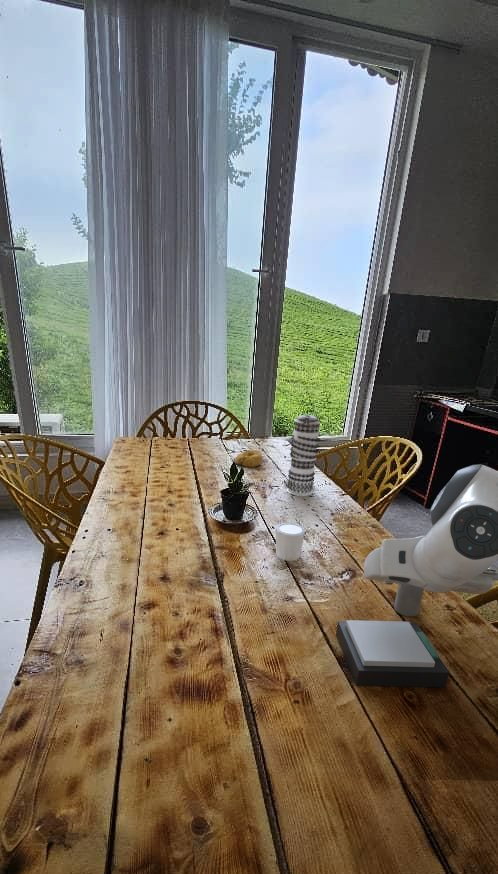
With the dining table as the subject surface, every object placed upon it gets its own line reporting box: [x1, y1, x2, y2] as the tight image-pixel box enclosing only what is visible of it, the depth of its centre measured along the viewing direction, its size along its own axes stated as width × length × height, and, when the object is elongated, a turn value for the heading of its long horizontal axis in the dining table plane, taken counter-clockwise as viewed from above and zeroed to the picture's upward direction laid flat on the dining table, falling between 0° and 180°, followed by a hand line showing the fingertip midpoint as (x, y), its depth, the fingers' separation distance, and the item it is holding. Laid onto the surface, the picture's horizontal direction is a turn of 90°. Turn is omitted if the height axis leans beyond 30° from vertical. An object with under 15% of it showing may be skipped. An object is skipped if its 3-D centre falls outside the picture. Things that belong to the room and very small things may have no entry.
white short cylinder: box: [275, 522, 306, 562], centre depth 105 cm, size 7×7×7 cm
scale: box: [335, 619, 451, 688], centre depth 73 cm, size 14×12×4 cm
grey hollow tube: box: [393, 584, 425, 618], centre depth 85 cm, size 4×4×10 cm
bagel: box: [233, 449, 263, 468], centre depth 173 cm, size 10×11×5 cm
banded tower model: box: [286, 414, 322, 497], centre depth 143 cm, size 9×9×25 cm
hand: (413, 583), depth 84 cm, fingers open, 8 cm apart
